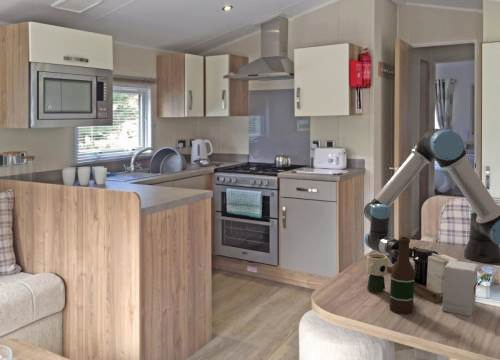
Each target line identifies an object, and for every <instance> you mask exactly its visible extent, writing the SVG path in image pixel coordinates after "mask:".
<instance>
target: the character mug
mask: <svg viewBox="0 0 500 360" xmlns="http://www.w3.org/2000/svg"><path fill="white" fill-rule="evenodd" d="M388 259H389V258H388V257H387V256H386V255H384V254H382V253H378V252H376V253H375V252H373V253H369V254H367V256H366V273H367V274H369V276H368V281H367V287H366V289H367V290H368V291H371V292H373V293H376V294H377V293H381V294H382V293H385V290H386V287H385V286H386V285H385V277H384V276H387V273H388Z"/></svg>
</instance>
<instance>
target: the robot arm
mask: <svg viewBox="0 0 500 360" xmlns="http://www.w3.org/2000/svg"><path fill="white" fill-rule="evenodd" d="M464 143H465V142H464V139H463V138H462V136H461V135H460V134H459V133H457V131H454V130H452V129H448V128H447V129H446V128H445V129H443V128H434V129H433V128H432V129H430V130H428V131H427V132H425V133H424V134H423V135H422V136H421V137H420V138H419V140H418V141H417V142H416V143H415V145H414V146H413V147H412V148H411V149H410V151H411V153H410V154H409V156H408V157H407V158H406V160H405V161H403V163H402V164H401V165H400V167H399V168H397V170H396V172H394V173H393V175H392V176H391V178H390V179H388V181H387V182H386V184H384V186H383V187H382V188H381V190H379V192H378V193H377V194H376V195H375V197H374V198H373V199H372V200H371V201H370V202H367V203H366V204H365V205H364V206H363V214H364V217H365V218H366V219H367V220H368V221H369V222H370V223H369V231H368V232H367V233H366V235H365V236H364V243H365V245H366V246H367V248H370V249H371V250H372V251H376V252H377V253H379V254H383V255H386V256H387V257H388V259H389V261H390V262H391V264H392V265H394V264H395V263H396V261H397V258H398V251H399V239H396V238H394V237H391V236H389V235H390V234H389V230H390V216H391V215H390V214H391V212H390V207H391V206H392V204H393V203H394V202H395V201H396V200H397V199H398V198H399V196H401V194H402V193H403V191H405V189H407V187H408V186H409V185H410V183H411V182H412V181H413V180H414V179H415V178H416V176H417V175H418V174H419V173H420V172H421V171H422V169H423V168H424V167H425V166H426V165H427V164H428V165H429V164H430V163H431V162H432V161H433V160H435V161H436V163H437V165H438V166H439V167H440V169H445V170H447V172H448V174H449V175H450V176H451V178H452V180H453V182H455V185H457V187H458V188H459V190H460V191H461V193H462V194H463V196H464V198H465V199H466V200H467V202H468V204H469V205H470V207H471V212H470V223H469V239H468V242H467V244H466V248H464V251H463V256H464V258H465V259H467V260H470V261H473V262H477V263H478V262H479V263H487V264H488V263H489V264H494V263H496V264H497V263H500V205H498V204H497V203H496V201H495V200H494V198H493V197H492V194H490V192H489V190H488V189H487V187H486V186H485V184H484V183H483V182H482V179H481V178H480V177H479V175H478V174H477V172H476V171H475V169H474V168H473V166H472V165H471V163H470V161H469V160H468V158H467V155H468V151H467V150H466V148H465V147H464V146H465V144H464ZM417 249H421V248H419V247H416V246H413V247H412V248H411V247H409V259H410V263H411V265H412V266H413V269H414V266H415V262H414V261H413V258H414V257H415V256H417V255H416V250H417ZM438 253H439V252H438V251H436V250H430V256H435V255H439V254H438ZM411 259H412V260H411Z"/></svg>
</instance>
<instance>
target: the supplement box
mask: <svg viewBox="0 0 500 360" xmlns="http://www.w3.org/2000/svg"><path fill="white" fill-rule="evenodd" d="M478 268H479V264H478V263H473V262H472V263H471V262H464V261H460V260H459V261H454V260H450V261H449V262H448V263H447V265H446V266H445V274H444V289H443V302H442V307H441V308H442V309H441V311H443V312H447V313H451V314H455V315H456V314H458V315H461V316H462V315H463V316H467V317H472V316H473V312H474V310H475V308H476V297H477V296H476V295H477V294H476V293H477V281H478Z"/></svg>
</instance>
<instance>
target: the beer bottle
mask: <svg viewBox="0 0 500 360" xmlns="http://www.w3.org/2000/svg"><path fill="white" fill-rule="evenodd" d="M398 240H399V251H398V258H397V261H396V262H395V264H392V268H391V273H390V285H389V286H390V288H389V310H390V311H391V312H393V313H396V314H401V315H408V314H412V313H413V311H414V310H413V309H414V295H415V293H414V269H413V266H412V265H411V263H410V260H411V258H409V248H410V243H411V239H410V237H407V236H400V237H399V238H398Z"/></svg>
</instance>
